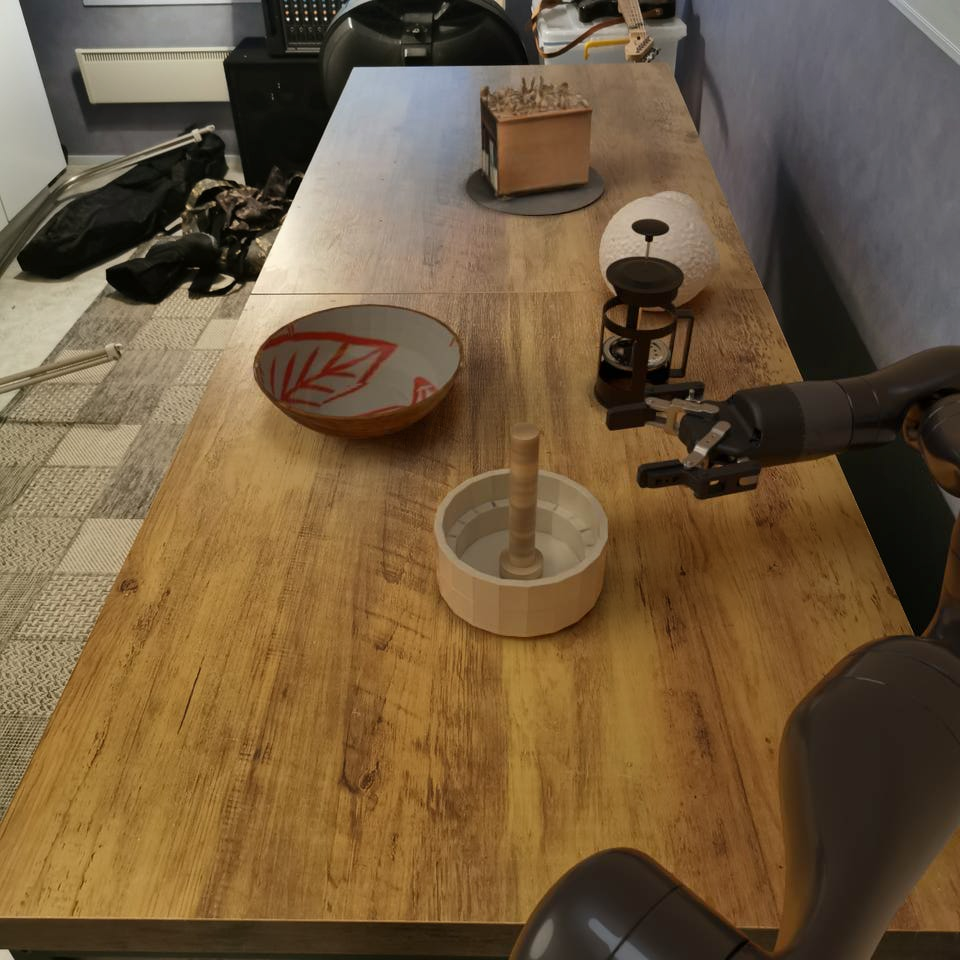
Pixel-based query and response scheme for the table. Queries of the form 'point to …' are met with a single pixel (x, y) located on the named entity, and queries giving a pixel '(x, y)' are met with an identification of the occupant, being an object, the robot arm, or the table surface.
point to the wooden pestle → (522, 506)
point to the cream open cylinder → (485, 534)
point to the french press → (632, 347)
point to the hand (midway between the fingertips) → (622, 447)
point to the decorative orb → (665, 241)
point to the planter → (535, 151)
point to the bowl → (359, 368)
